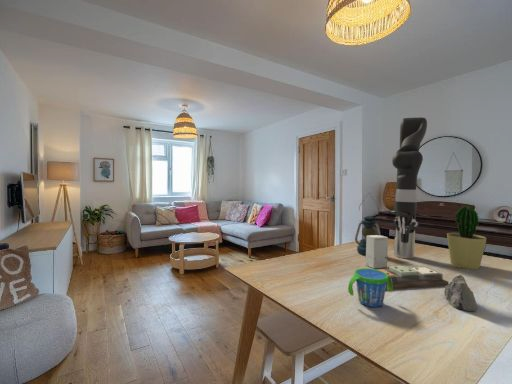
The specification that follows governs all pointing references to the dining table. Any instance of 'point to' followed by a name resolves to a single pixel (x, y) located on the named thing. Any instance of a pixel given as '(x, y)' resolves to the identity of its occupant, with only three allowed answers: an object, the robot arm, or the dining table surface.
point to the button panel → (416, 280)
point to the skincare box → (376, 251)
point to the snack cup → (371, 286)
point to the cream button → (424, 270)
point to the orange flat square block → (386, 272)
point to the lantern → (366, 232)
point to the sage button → (403, 270)
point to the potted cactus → (466, 241)
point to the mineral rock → (460, 294)
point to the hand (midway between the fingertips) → (404, 242)
